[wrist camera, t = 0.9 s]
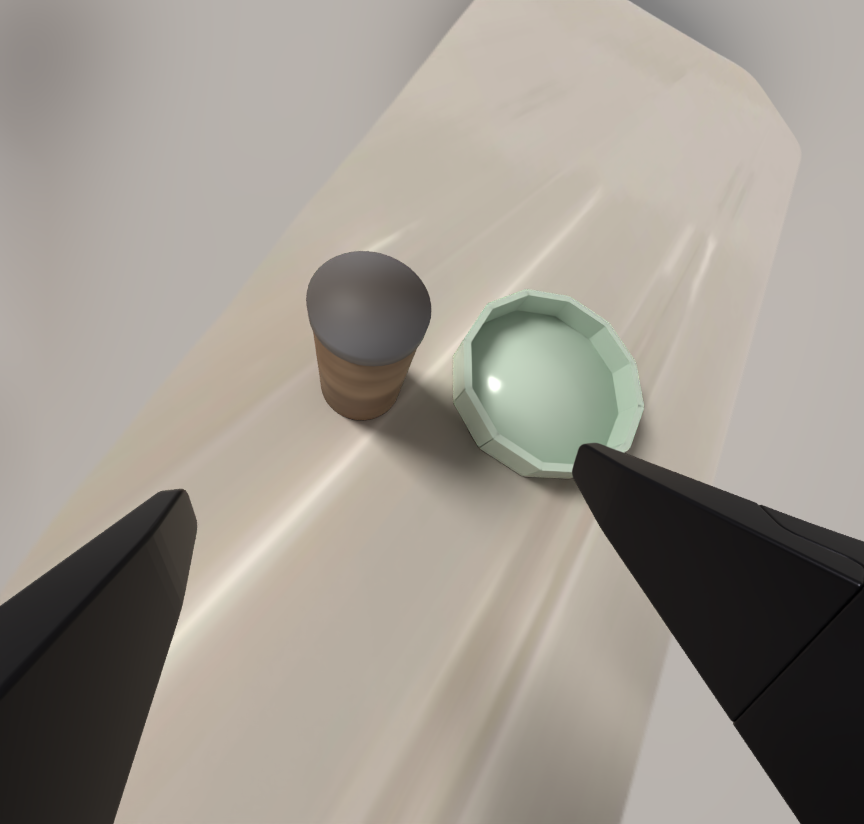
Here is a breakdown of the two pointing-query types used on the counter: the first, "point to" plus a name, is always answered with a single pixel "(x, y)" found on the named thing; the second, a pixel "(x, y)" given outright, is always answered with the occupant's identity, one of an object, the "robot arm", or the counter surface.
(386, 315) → the walnut spice jar
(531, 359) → the sage green dish
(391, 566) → the counter surface
